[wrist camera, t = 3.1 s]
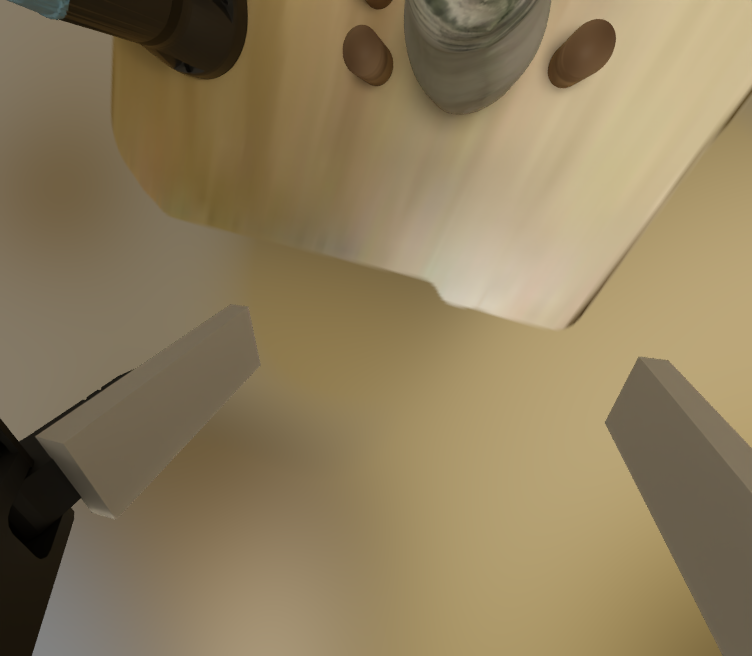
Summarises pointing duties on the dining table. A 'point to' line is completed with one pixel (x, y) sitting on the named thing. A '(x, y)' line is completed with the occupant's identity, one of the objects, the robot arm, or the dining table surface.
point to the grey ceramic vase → (472, 47)
